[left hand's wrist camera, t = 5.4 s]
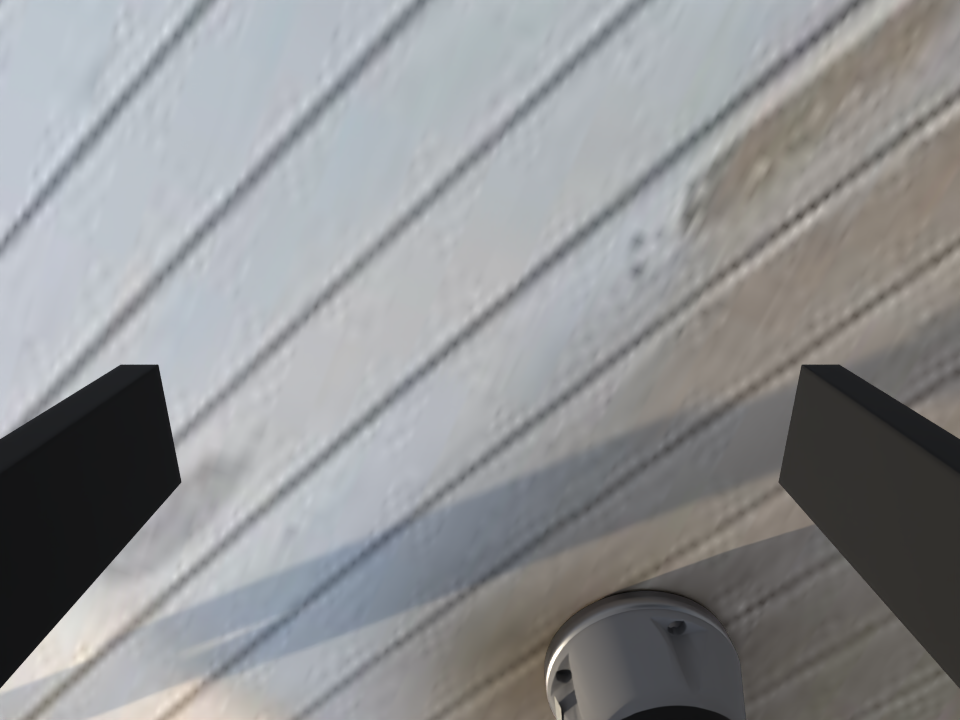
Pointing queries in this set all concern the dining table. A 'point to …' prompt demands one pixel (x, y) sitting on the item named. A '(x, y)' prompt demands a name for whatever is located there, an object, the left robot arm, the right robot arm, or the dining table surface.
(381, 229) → the dining table surface
